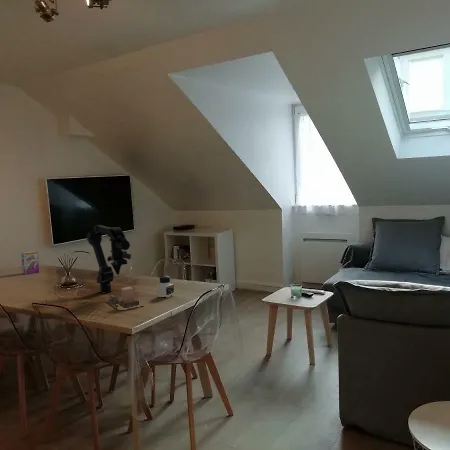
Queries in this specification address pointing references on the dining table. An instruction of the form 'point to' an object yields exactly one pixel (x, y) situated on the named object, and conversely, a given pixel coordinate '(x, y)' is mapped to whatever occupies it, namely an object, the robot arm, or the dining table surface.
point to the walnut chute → (115, 300)
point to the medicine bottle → (165, 286)
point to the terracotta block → (127, 294)
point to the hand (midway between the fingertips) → (117, 274)
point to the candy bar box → (30, 262)
